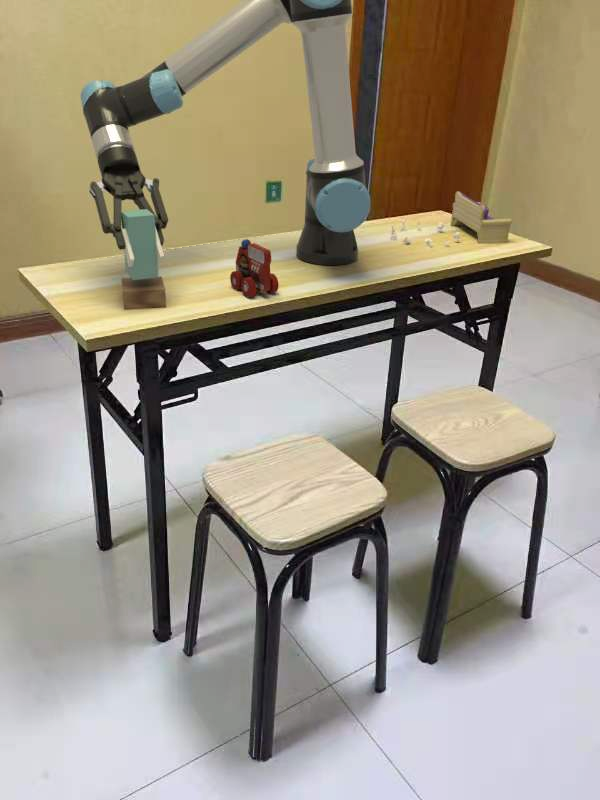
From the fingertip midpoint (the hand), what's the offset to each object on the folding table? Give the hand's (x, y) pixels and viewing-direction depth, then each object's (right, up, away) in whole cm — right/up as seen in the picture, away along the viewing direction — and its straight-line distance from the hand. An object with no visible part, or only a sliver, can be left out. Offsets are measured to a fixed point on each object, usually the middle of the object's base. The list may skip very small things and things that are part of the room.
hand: (146, 261), depth 129 cm
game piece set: (+63, +18, +59) cm, 88 cm away
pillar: (-2, -2, +5) cm, 5 cm away
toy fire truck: (+19, -3, +16) cm, 25 cm away
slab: (-2, -7, +7) cm, 10 cm away
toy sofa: (+79, +20, +65) cm, 105 cm away
